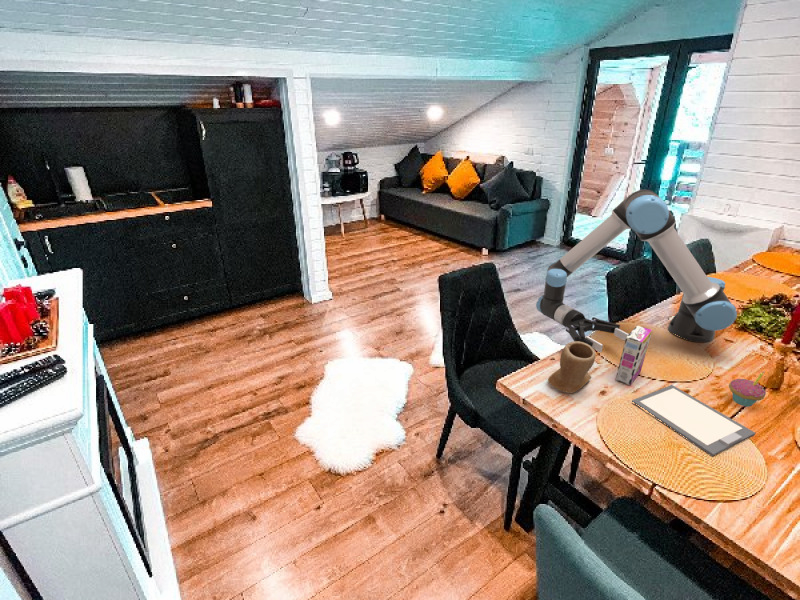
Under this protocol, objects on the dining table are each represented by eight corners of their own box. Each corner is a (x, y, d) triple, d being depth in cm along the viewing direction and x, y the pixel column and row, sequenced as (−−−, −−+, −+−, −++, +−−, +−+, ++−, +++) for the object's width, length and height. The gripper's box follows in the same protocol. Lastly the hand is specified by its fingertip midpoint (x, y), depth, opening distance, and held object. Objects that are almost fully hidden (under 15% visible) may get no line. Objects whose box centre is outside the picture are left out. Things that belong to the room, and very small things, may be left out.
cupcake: (761, 401, 127) (775, 367, 122) (758, 415, 121) (772, 380, 116) (727, 389, 132) (739, 357, 127) (722, 402, 127) (734, 369, 122)
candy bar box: (631, 386, 135) (642, 342, 128) (614, 380, 138) (625, 337, 131) (642, 371, 142) (653, 329, 135) (626, 366, 145) (636, 324, 138)
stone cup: (576, 402, 128) (584, 360, 122) (542, 384, 137) (548, 344, 130) (601, 382, 137) (609, 343, 130) (567, 367, 145) (574, 329, 139)
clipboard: (671, 386, 134) (672, 382, 133) (754, 435, 114) (756, 430, 113) (631, 402, 127) (632, 398, 127) (712, 456, 108) (714, 451, 107)
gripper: (592, 320, 165) (640, 345, 147) (542, 333, 156) (586, 362, 138) (596, 303, 162) (645, 326, 144) (545, 315, 153) (590, 342, 135)
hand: (616, 344), depth 141 cm, fingers open, 13 cm apart
